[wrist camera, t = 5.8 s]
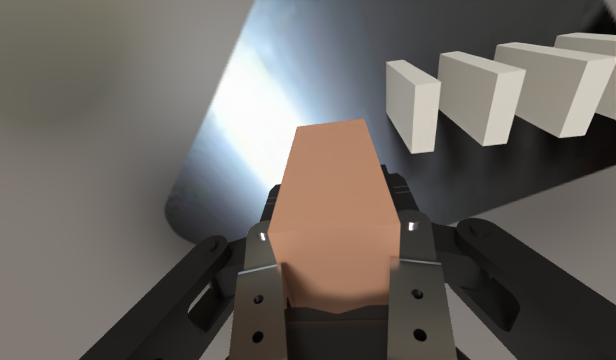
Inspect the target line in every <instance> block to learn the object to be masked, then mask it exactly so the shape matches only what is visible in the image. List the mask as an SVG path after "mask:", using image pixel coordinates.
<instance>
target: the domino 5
mask: <svg viewBox="0 0 616 360" xmlns="http://www.w3.org/2000/svg"><path fill="white" fill-rule="evenodd" d="M554 48H560V49H566V50H573V51H580V52H587V53H594V54H601V55H608V56H615V57H616V35H603V34H588V33H572V34H566V35H559V36H557V38H556V41H555V45H554ZM595 112H596V113H599V114H601V115H604V116H607V117H610V118H612V119H615V120H616V64H615V66H614V69H613V71H612V73H611V76H610V78H609V80H608V83H607V85H606V87H605V90H604V92H603V94H602V96H601V99H600V101H599V103H598V106H597V108H596V110H595Z"/></svg>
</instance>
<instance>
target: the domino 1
mask: <svg viewBox="0 0 616 360" xmlns="http://www.w3.org/2000/svg"><path fill="white" fill-rule="evenodd" d="M400 225H401V224H400V221H399V218H398V215H397V212H396V209H395V207H394V204H393V201H392V198H391V195H390V192H389V189H388V186H387V183H386V181H385V178H384V175H383V172H382V169H381V166H380V163H379V160H378V157H377V155H376V152H375V149H374V146H373V143H372V140H371V137H370V134H369V131H368V129H367V126H366V123H365V120H364V119H356V120H348V121H340V122H332V123H324V124H316V125H308V126H300V127H297V129H296V133H295V137H294V140H293V144H292V147H291V151H290V154H289V158H288V161H287V165H286V169H285V172H284V176H283V179H282V183H281V186H280V190H279V194H278V197H277V201H276V204H275V208H274V211H273V215H272V219H271V222H270V226H269V229H268V233H267V234H268V237H269V240H270V243H271V246H272V249H273V252H274V255H275V258H276V262H277V263H281V262H282V264H283V266H284V269H285V272H286V275H287V280H288V284H289V287H290V290H291V294H292V297H293V300H294V303H295V305H296V307H309V308H313V309H318V310H322V311H326V312H331V313H335V314H339V313H343V312H347V311H350V310H354V309H357V308H361V307H364V306H368V305H389V282H390V257H399V248H400Z"/></svg>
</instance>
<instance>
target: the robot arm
mask: <svg viewBox="0 0 616 360" xmlns="http://www.w3.org/2000/svg"><path fill="white" fill-rule="evenodd" d="M380 166H381V169H382V172H383V175H384V178H385V181H386V183H387V186H388V189H389V192H390V195H391V198H392V201H393V204H394V207H395V209H396V212H397V215H398V218H399V221H400V224H401V225H400V248H399V257H390V282H389V305H368V306H364V307H361V308H357V309H354V310H350V311H347V312H343V313H339V314H335V313H331V312H326V311H322V310H318V309H313V308H309V307H296V305H295V303H294V300H293V297H292V294H291V290H290V287H289V284H288V280H287V275H286V272H285V269H284V266H283V264H282V262H281V263H277V262H276V258H275V255H274V252H273V249H272V246H271V243H270V240H269V237H268V234H267V233H268V229H269V226H270V222H271V219H272V215H273V211H274V208H275V204H276V201H277V197H278V194H279V190H280V186H281V184H279V185H275V186H274V187H273V188H272V189H271V190H270V192H269V195H268V199H267V201H266V204H265V207H264V210H263V213H262V216H261V219H260V222H259V223H257V224H255V225H253V226H252V227H251V228H250V229H249V231H248V233H247V237H245V238H242V239H239V240H236V241H233V242H229V243H228V242H227V239H226V238H225V237H223V236H219V235H216V236H211V237H208V238H206V239H204V240H202V241H201V242H199V243H198V244H197V245H196V246H195V247H194V248H193V249H192V250H191V251H190V252H189V253H188V254H187V255H186V256H185V257H184V258H183V259H182V260H181V261H180V262H179V263H178V264H177V265H176V266H175V267H174V268H172V269H171V271H169V272H168V273H167V274H166V276H164V277H163V278H162V279H161V280H160V281H159V282H158V283H157V284H156V285H155V286H154V287H153V288H152V289H151V290H150V291H149V292H148V293H147V294H146V295H145V296H144V297H143V298H142V299H141V300H140V301H139V302H138V303H137V304H136V305H134V306H133V308H131V309H130V310H129V311H128V312H127V313H126V314H125V315H124V316H123V317H122V318H121V319H120V320H119V321H118V322H117V323H116V324H115V325H114V326H113V327H112V328H111V329H110V330H109V331H108V332H107V333H106V334H105V335H104V336H103V337H102V338H101V339H100V340H99V341H98V342H97V343H96V344H94V345H93V346H92V348H90V349H89V350H88V351H87V352H86V353H85V354H84V355H83V356H82V357H81V358H80V359H79V360H199V359H200V357H201V356H202V354H203V353H204V352H205V350H206V349H207V347H208V346H209V344H210V343H211V341H212V340H213V339H214V337H215V336H216V334H217V333H218V332H219V330H220V328H221V327H222V326H223V324H224V323H225V322H226V320H227V319H228V317H229V316H230V314H231V313H232V312H233V310H234V312H233V321H232V331H231V340H230V350H229V356H228V357H227V358H226V359H225V360H470V359H469V358H468V357H467V356H466V355H465V354H463V353H462V352H461V351H460V350H459V349H458V348H457V347H456V346H455V342H454V336H453V330H452V324H451V318H450V312H449V306H448V300H447V293H446V288H445V283H448V284H449V286H450V288H451V289H452V290H453V291H454V292H455V293H456V294H457V295H458V296H459V297H460V298H461V299H462V301H463V302H464V303H465V304H466V305H467V306H468V307H469V308H470V309H471V310H472V311H473V312H474V313H475V315H477V317H478V318H479V319H480V320H481V321H482V322H483V323H484V324H485V325H486V326H487V327H488V328H489V329H490V331H492V333H493V334H494V335H495V336H496V337H497V338H498V339H499V340H500V341H501V342H502V343H503V345H504V346H505V347H506V348H507V349H508V350H509V351H510V352H511V353H512V354H513V355H514V356H515V357H516V358H517V360H616V305H615V304H613V303H612V302H610V301H609V300H607V299H606V298H604V297H603V296H601V295H600V294H598V293H597V292H595V291H594V290H592V289H591V288H589V287H588V286H586V285H585V284H583V283H582V282H580V281H579V280H577V279H576V278H574V277H573V276H571V275H570V274H568V273H567V272H566V271H564V270H563V269H561V268H559V267H558V266H557V265H555V264H554V263H552V262H551V261H549V260H548V259H546V258H545V257H543V256H542V255H540V254H539V253H537V252H536V251H534V250H533V249H531V248H529V247H528V246H527V245H525V244H524V243H522V242H521V241H519V240H518V239H516V238H515V237H513V236H512V235H510V234H509V233H507V232H506V231H504V230H503V229H501V228H500V227H498V226H497V225H495V224H494V223H492V222H489V221H487V220H483V219H479V218H468V219H464V220H462V221H460V222H459V223H458V224H457V227H450V226H444V225H439V224H435V223H433V222H431V220H430V219H429V217H428V216H427V215H425V214H424V213H422V212H420V211H419V209H418V207H417V205H416V202H415V200H414V198H413V196H412V194H411V192H410V189H409V187H408V185H407V183H406V181H405V179H404V178H403V177H402V176H400V175H399V174H398V173H394V174H389V173H388V171H387V168H386V166H385V164H383V165H380ZM207 284H209V286H210V288H209V289H208V290H207V291H206V292H205V294H204V295H203V296H202V297H201V299H200V300H199V301H198V302H197V303H196V304H195V306H194V307H193V308H192V309H191V310H190V312H189V313H188V309H189V307H190V305H191V303H192V302H193V301H194V300H195V298H196V297H197V296H198V295H199V294H200V293H201V291H202V290H203V289H204V288H205V287H206V286H207Z"/></svg>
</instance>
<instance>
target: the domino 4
mask: <svg viewBox="0 0 616 360" xmlns="http://www.w3.org/2000/svg"><path fill="white" fill-rule="evenodd" d="M494 61H496V62H499V63H503V64H507V65H510V66H514V67H518V68H521V69H525V70H526V73H525V77H524V80H523V84H522V88H521V92H520V95H519V99H518V103H517V107H516V110H515V115H517V116H519V117H520V118H522V119H524V120H526V121H528V122H530V123H532V124H534V125H536V126H537V127H539V128H541V129H543V130H545V131H547V132H549V133H551V134H552V135H554V136H556V137H558V138H563V137H572V136H582V135H585V133H586V131H587V129H588V126H589V124H590V122H591V120H592V117H593V115H594V113H595V110H596V108H597V106H598V103H599V101H600V99H601V96H602V94H603V92H604V90H605V87H606V85H607V83H608V80H609V78H610V76H611V73H612V71H613V69H614V66H615V64H616V57H615V56H608V55H601V54H594V53H587V52H580V51H573V50H566V49H560V48H553V47H546V46H539V45H532V44H525V43H518V42H514V43H508V44H501V45H497V47H496V52H495V57H494Z"/></svg>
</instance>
